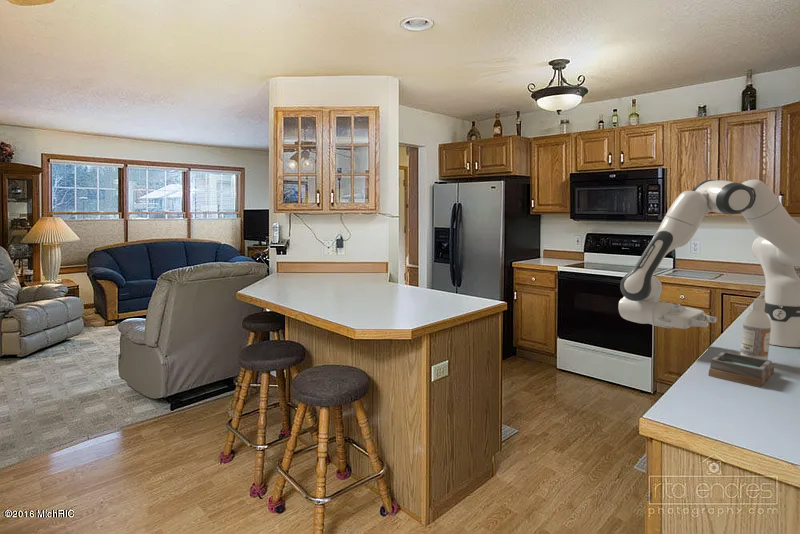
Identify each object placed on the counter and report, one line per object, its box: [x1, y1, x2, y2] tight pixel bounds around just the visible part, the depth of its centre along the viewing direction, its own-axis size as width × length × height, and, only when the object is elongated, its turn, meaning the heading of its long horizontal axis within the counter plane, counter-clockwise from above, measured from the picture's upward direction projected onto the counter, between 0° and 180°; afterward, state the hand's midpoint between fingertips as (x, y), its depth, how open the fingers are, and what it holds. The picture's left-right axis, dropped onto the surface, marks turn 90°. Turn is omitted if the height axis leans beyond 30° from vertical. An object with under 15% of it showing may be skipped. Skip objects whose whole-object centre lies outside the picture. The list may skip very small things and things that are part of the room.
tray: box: [708, 351, 775, 388], centre depth 139 cm, size 18×12×4 cm, turn 132°
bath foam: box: [740, 297, 771, 360], centre depth 150 cm, size 7×7×20 cm
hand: (711, 322), depth 159 cm, fingers open, 8 cm apart
